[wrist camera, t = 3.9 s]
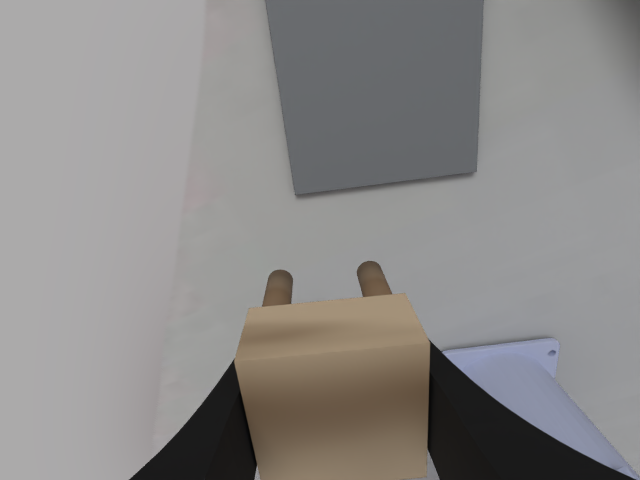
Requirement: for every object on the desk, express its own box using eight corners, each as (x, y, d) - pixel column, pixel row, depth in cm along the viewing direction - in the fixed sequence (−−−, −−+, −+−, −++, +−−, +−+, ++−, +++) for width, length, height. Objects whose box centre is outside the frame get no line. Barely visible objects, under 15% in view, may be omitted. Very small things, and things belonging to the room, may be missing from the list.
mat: (473, 170, 20) (476, 171, 20) (295, 193, 20) (295, 194, 20) (481, -49, 16) (485, -53, 16) (263, -19, 16) (262, -22, 16)
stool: (388, 356, 16) (426, 477, 11) (277, 367, 16) (263, 492, 11) (385, 254, 14) (429, 342, 9) (260, 266, 14) (233, 361, 9)
